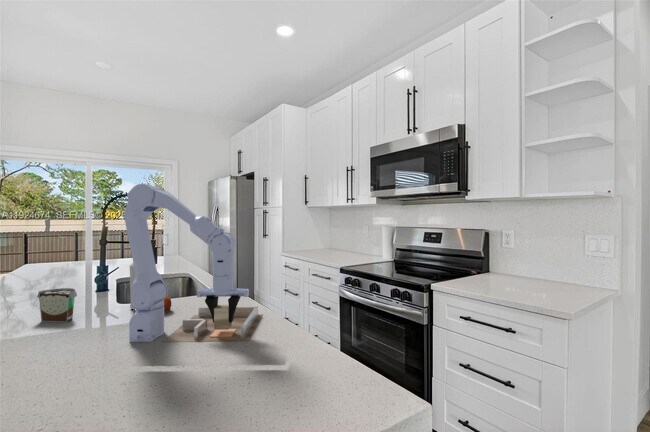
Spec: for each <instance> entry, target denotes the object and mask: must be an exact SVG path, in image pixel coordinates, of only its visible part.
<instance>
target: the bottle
mask: <svg viewBox="0 0 650 432" xmlns="http://www.w3.org/2000/svg"><path fill="white" fill-rule="evenodd" d="M135 277H136V273H135V268H134V263H133V262H132V263H131V264H130V265H129V288H130V289H129V290H130V297H131V295H132V283H133V281H134V279H135ZM130 308H131V309H136V307H134V306H133V304H132V302H131V301H130V304H129V309H130ZM131 309H130V310H131Z"/></svg>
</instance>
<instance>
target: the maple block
mask: <svg viewBox="0 0 650 432" xmlns="http://www.w3.org/2000/svg"><path fill="white" fill-rule="evenodd" d="M231 326H232V322H229V304H218V306H216V307H215V308H214V330H228V329H229V328H230V327H231Z"/></svg>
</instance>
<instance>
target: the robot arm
mask: <svg viewBox="0 0 650 432" xmlns="http://www.w3.org/2000/svg"><path fill="white" fill-rule="evenodd" d="M126 196H127V203H126V206H125V210H124V213H123V218H124V223H125V227H126V233H127V238H128V243H129V248H130V252H131V258H132V263H134V268H135V273H136V277H135V279H134V281H133V283H132V295H131V296H130V303H131V302H132V304H133V306H134V307H136V310H135V313H134V314H133V315H132V316H131V318H130V319H129V322H128V323H129V325H128V326H129V327H128V328H129V333H128V334H129V337H128V338H129V342H133V343H135V342H136V343H138V342H139V343H140V342H141V343H143V342H144V343H145V342H147V343H149V342H152V341H154V340H155V339H157V338H158V337H161V336H163V335H164V334H165V314H164V299H165V298H166V297H167V296H168V294H169V288H168V286H167V284H166V283H165V282H164V279H163V275H162V274H160V273H159V272H158V270H157V265H156V260H155V255H154V249H153V245H152V240H151V235H150V230H149V226H148V219H149V217H150V216H151V215H152V213H153V212H155V211H157V210H158V209H166V210H168V211H170V212H171V213H172V214H174V215H175V216H176V217H178V218H179V219H181V220H182V221H184V222H185V223H186V224H187V225H189V229H190V232H191V233H192V234H193V235H195V236H196V237H198V239H200V240H201V241H203V243H205V244H207V245H209V249H210V251H211V252H212V288H201V289H197V290H196V298H201V297H203V298H204V302H205V304H206V307H208V308H209V310H210V312H211V315H212V319H213V323H214V308H215V307H216V306H218V305H219V304H218V303H219V298H220V297H221V298H222V297H223V298H224V297H225V298H226V297H229V298H228V299H227V302H228V304H227V305H229V322H232V321H233V318H234V313H235V310H236V307H238V303H239V301H240V299H241V297H244V298H248V297H249V296H250V289H249V288H237V287H234V250H233V249H234V248H235V246H236V239H235V237H234V236H233V235H232V233H231V232H228V231H226V232H225V229H224V228H223V227H221V228H220V227H219V226H218V225H216V224H215V223H214V222H213V221H212V218H211V217H209V216H205V215H200V216H199V215H197V214H195V213H194V212H193V211H192V210H191V209H190V208H189V207H187V206H186V205H185V204H183V202H182V201H180V200H179V199H178V198H177V197H176V196H174V195H173V194H172V193H171V192H169V191H167V190H166V189H165V188H164V187H162V186H157V185H156V186H154V185H148V184H146V183H138V184H136V185H134V186H133V187H132V188H131V189H130V190H129V192H128V193H126Z"/></svg>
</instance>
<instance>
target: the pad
mask: <svg viewBox="0 0 650 432" xmlns="http://www.w3.org/2000/svg"><path fill="white" fill-rule="evenodd" d="M235 331H236V329H228V330H215V331H214V332H213V333H212V334H211V335H210V337H232V335H233V334H234V332H235Z"/></svg>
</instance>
